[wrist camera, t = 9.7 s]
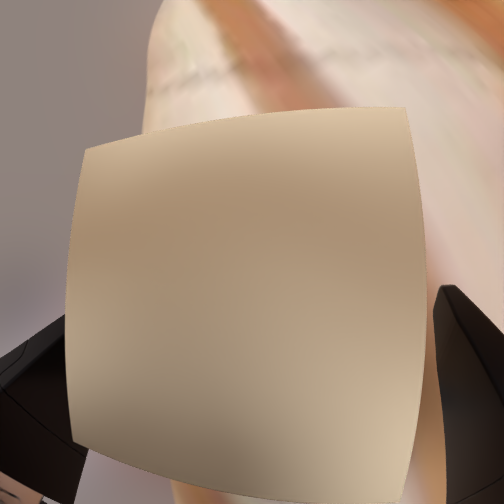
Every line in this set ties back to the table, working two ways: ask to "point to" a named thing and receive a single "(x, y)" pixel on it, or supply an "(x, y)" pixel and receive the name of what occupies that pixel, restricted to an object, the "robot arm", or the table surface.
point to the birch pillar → (252, 304)
